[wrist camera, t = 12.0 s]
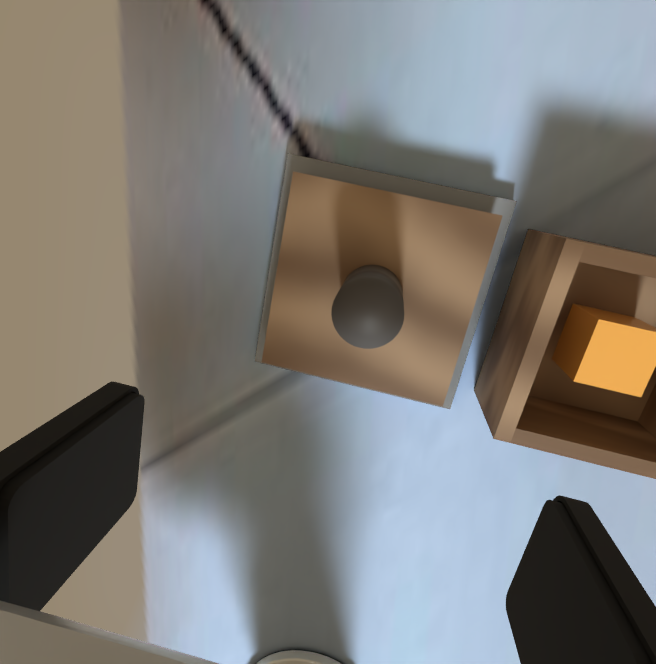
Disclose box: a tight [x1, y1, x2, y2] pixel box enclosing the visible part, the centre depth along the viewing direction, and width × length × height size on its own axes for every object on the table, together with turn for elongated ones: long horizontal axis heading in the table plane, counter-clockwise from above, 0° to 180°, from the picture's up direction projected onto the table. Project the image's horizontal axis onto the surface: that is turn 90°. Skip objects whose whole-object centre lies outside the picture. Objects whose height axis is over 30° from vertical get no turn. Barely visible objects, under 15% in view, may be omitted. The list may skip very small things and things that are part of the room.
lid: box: [262, 172, 502, 406], centre depth 28 cm, size 13×13×7 cm
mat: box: [255, 154, 517, 409], centre depth 32 cm, size 15×15×1 cm
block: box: [552, 304, 656, 397], centre depth 28 cm, size 4×4×4 cm
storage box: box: [474, 229, 656, 479], centre depth 28 cm, size 12×12×7 cm
